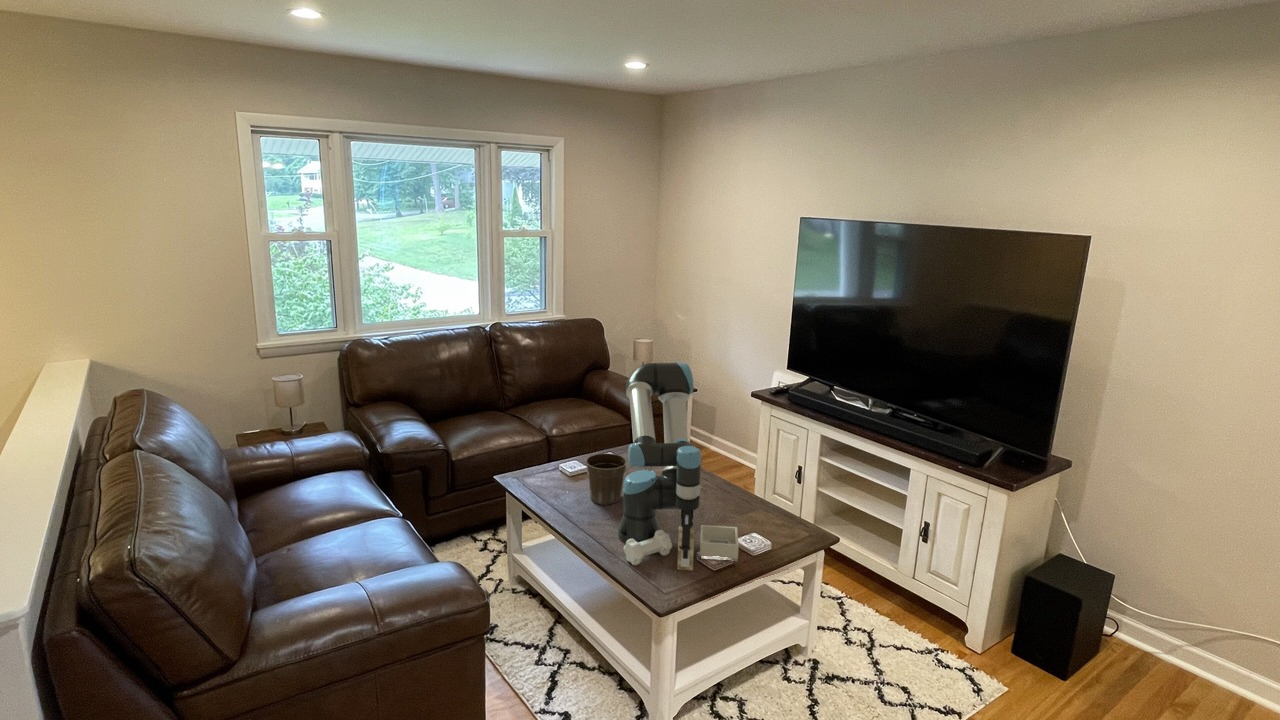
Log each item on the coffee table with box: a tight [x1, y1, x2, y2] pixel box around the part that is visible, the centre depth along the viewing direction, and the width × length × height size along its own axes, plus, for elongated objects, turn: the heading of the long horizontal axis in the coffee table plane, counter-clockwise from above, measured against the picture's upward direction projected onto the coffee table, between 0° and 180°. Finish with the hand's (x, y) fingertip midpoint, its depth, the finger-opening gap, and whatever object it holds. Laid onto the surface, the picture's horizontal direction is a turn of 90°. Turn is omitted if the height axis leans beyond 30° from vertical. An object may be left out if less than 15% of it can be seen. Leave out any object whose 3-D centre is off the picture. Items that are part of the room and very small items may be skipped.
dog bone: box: [623, 529, 673, 567], centre depth 224 cm, size 15×9×8 cm, turn 123°
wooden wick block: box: [676, 525, 695, 571], centre depth 218 cm, size 5×3×14 cm, turn 84°
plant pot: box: [585, 452, 628, 506], centre depth 266 cm, size 16×16×16 cm
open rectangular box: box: [699, 524, 740, 563], centre depth 229 cm, size 13×13×6 cm
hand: (685, 555), depth 218 cm, fingers open, 13 cm apart
